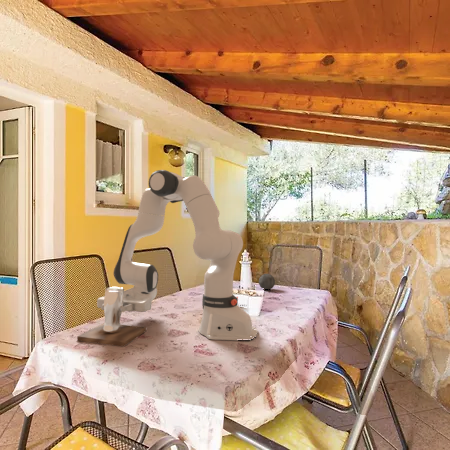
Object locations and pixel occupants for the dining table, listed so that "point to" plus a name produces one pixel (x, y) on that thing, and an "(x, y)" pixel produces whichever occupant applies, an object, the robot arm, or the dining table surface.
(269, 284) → the decorative ball
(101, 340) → the walnut board
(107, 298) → the beer glass
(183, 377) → the dining table surface
